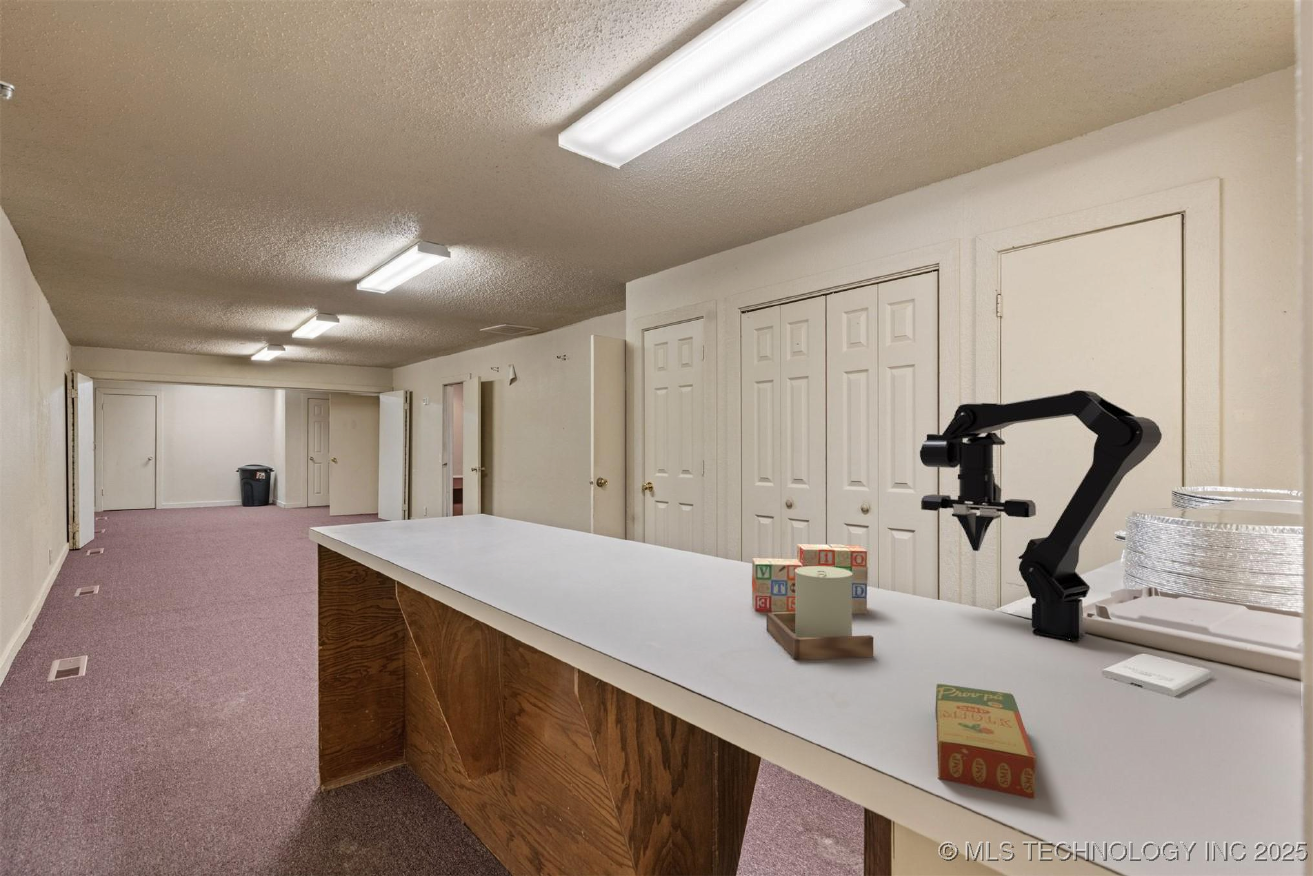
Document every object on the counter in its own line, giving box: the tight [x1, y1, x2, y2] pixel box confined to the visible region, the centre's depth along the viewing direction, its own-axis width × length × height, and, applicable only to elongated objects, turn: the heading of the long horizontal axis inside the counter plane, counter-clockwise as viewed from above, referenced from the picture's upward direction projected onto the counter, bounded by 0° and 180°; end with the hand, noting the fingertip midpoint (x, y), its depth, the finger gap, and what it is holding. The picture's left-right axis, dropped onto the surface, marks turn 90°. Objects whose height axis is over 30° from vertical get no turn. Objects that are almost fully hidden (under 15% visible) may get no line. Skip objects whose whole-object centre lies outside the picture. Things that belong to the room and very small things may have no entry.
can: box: [794, 566, 853, 638], centre depth 99 cm, size 9×9×12 cm
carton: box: [934, 683, 1037, 800], centre depth 64 cm, size 8×16×4 cm, turn 156°
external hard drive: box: [1100, 653, 1212, 697], centre depth 84 cm, size 2×8×12 cm
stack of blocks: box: [751, 543, 869, 614], centre depth 119 cm, size 21×6×12 cm, turn 86°
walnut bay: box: [766, 611, 874, 661], centre depth 98 cm, size 12×15×3 cm
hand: (976, 550), depth 116 cm, fingers closed
